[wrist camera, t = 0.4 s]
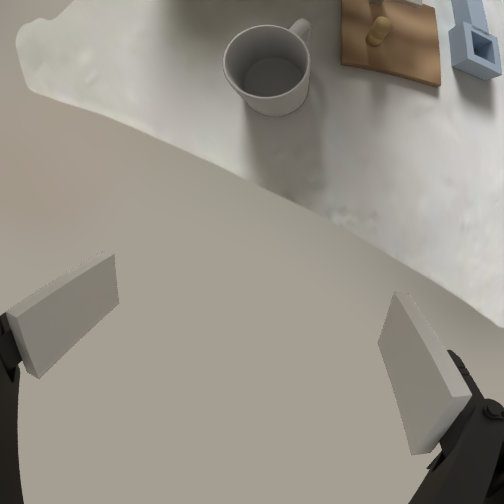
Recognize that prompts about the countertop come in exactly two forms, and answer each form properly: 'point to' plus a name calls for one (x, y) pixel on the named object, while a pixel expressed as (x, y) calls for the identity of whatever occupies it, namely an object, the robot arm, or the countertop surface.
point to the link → (473, 41)
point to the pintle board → (391, 39)
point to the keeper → (400, 2)
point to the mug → (270, 66)
